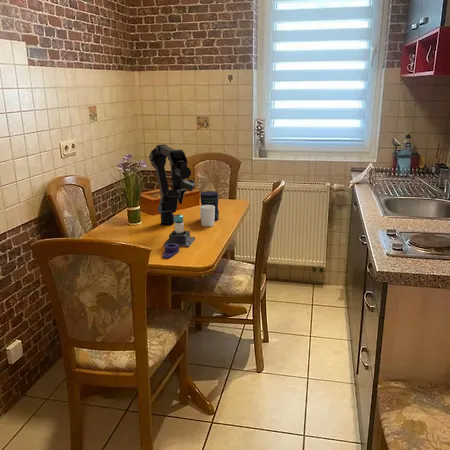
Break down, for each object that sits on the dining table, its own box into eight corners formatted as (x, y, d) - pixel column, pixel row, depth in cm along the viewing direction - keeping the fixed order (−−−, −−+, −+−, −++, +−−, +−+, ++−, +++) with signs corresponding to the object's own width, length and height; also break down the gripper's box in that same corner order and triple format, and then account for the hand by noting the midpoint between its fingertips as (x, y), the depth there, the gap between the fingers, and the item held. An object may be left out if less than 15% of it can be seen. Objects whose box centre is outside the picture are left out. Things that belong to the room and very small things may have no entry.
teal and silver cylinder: (173, 240, 216) (172, 216, 213) (178, 238, 220) (177, 214, 216) (180, 242, 214) (179, 217, 211) (185, 239, 218) (184, 215, 214)
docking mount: (163, 245, 213) (163, 236, 211) (171, 237, 224) (170, 228, 223) (188, 247, 210) (188, 237, 209) (195, 238, 222) (194, 229, 220)
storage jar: (219, 217, 258) (219, 191, 254) (217, 222, 249) (217, 195, 244) (202, 216, 259) (201, 191, 255) (199, 221, 250) (198, 195, 245)
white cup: (217, 223, 247) (216, 205, 244) (212, 227, 240) (212, 208, 237) (203, 222, 249) (202, 204, 246) (198, 226, 242) (197, 208, 239)
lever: (167, 249, 209) (167, 242, 208) (180, 250, 208) (180, 243, 207) (158, 258, 197) (158, 252, 196) (172, 259, 196) (172, 252, 195)
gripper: (188, 179, 216) (189, 211, 220) (197, 172, 233) (198, 202, 238) (165, 179, 218) (166, 210, 222) (176, 172, 235) (177, 201, 240)
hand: (178, 206), depth 230 cm, fingers open, 9 cm apart
